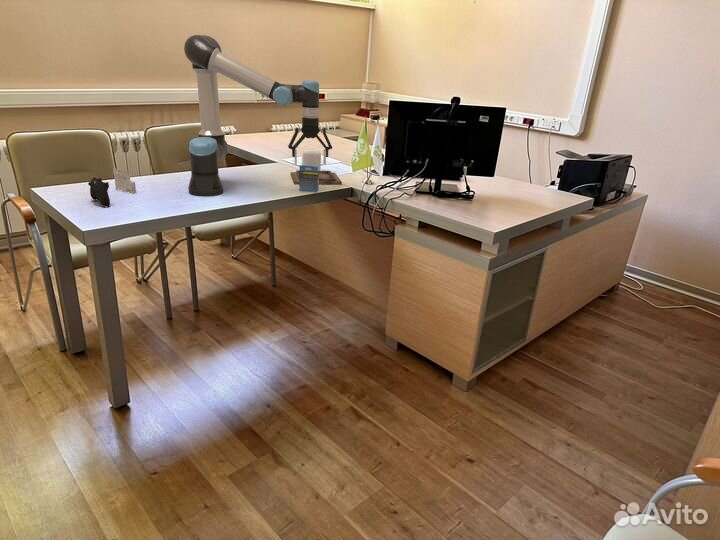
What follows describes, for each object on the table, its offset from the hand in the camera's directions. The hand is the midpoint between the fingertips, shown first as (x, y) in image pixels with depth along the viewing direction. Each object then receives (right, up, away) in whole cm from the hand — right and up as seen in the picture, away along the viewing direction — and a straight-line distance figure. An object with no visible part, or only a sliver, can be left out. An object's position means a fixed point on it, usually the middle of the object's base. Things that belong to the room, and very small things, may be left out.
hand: (310, 164), depth 237 cm
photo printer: (-4, +4, +42) cm, 42 cm away
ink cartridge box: (-80, -15, -14) cm, 82 cm away
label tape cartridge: (-1, -12, +5) cm, 13 cm away
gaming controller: (-82, -23, -32) cm, 91 cm away
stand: (0, -3, +26) cm, 26 cm away
